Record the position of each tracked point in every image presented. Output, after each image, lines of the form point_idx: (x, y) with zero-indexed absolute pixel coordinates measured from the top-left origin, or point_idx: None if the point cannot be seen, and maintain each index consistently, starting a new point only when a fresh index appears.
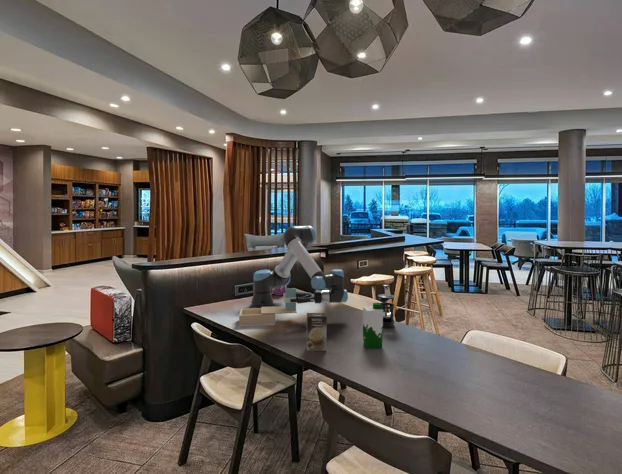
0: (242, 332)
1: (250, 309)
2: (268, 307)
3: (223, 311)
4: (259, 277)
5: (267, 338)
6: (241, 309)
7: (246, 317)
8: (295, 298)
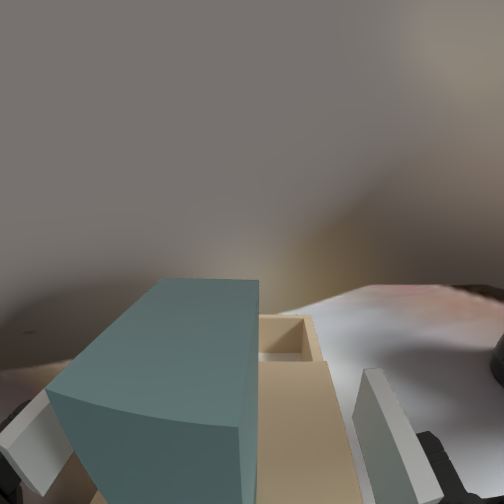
0: None
1: (307, 337)
2: (311, 390)
3: (397, 314)
4: None
5: (15, 386)
6: (301, 316)
7: None
8: (3, 445)
